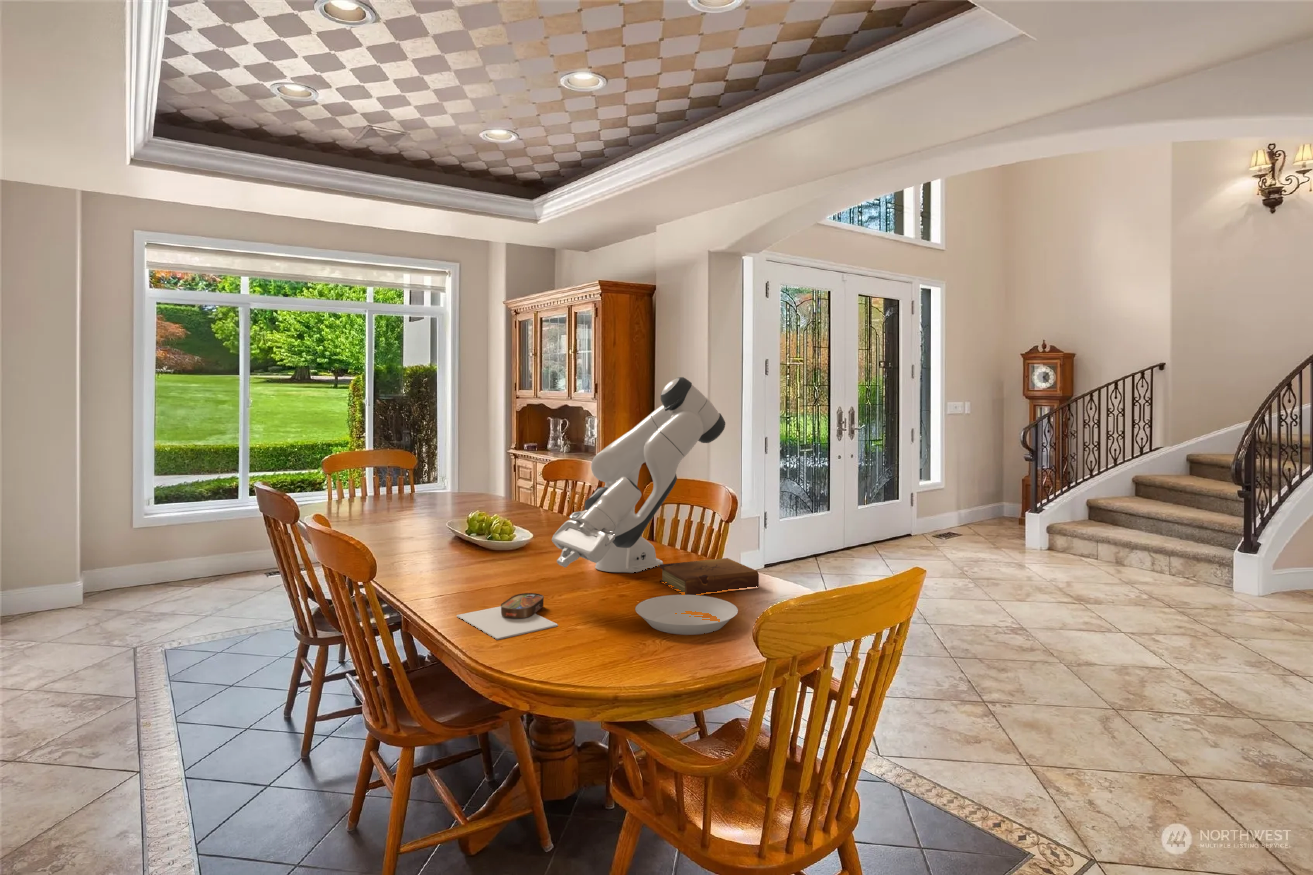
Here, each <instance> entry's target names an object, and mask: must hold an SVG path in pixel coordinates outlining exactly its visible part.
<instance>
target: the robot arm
mask: <svg viewBox="0 0 1313 875" xmlns="http://www.w3.org/2000/svg"><path fill="white" fill-rule="evenodd" d="M660 402H661V403H662V405H660V406H659V407H657V408H656V409H654V410H653V411H652V412H651V413H650V414H648V415H647V416H646V417H645V418H643V419H642V420H641V421H640V422H639V423H637V424H636V425H635V426H634V427H632V428H631V429H629V431H627V432H625V433H624V434H623V435H621V436H620V437H618V438H616V439H615V440H614V441H612V442H611V443H609V444H608V445H607V446H605V447H604V448H603V449H602V450H600V451H599V452H597V453H596V455H594V457H593V458H592V460H591V472H592V474H593V476H594V477H595V479H597V480H598V481H600V482H603V483H604V486H603V487H602V486H601V487H599V486H598V487H597V488H596V489H595V490H594V491H593V493H592V494H591V495H590V497H588V498H587V499H586V500H584V510H582V511H574V512H572V513H571V514H570V515H569V517H568V518H569V519H568V520H566V521H564V522H563V524H561V526H560V527H559V528H558V529H557V530H556V532H555V533H553V535H552V536H551V537H552V538H551V541H552V543H553V544H554V545H555V546H556V548H557V549H559V550H561V553H560V556H559V557H558V558H557V559H556V563H557V564H558V565H559V566H561V567H563V568H567V567H568V566H569V565H570V564H572V563H573V562H575V561H577V560H578V559H579V558H582V559H585V560H587V561H590V562H592V563H594V564H595V565H594V568H595V569H597V570H598V571H603V572H606V573H607V572H609V573H627V574H628V573H629V574H633V573H634V572H636V573H639V572H643V571H646V570H648V569H647V568H650V569H652V568H653V567H654V568H656V567H655V566H657V567H659V566H658V565H660V564H664V562H663V560H661V559H659V558H657V554H656V548H655V547H654V545H653V544H652V543H651V542H649V541H648V540H647V539H646V538H644V537H643V536H642V535H643V534H644V531H645V530H646V529H647V527H648V525H649V524H650V522H651V520H652V519H653V518H654V516H655V515H656V514H657V513H658V511H659V509H660V508H661V507H662V505H663V504H664V502H665V500H666V499H667V497H668V496H669V494H670V493H671V491H672V490H673V488H674V487H675V485H676V483H677V481H678V476H677V469H678V467H679V465H680V464H681V462H682V460H683V459H684V458H685V457H686V456H687V455H688V454H689V453H690V451H692V449H694V447H695V445H696V444H697V443H698V442H700V443H701V444H709V443H712V442H713V441H715V440H716V439H718V438H719V437H720V436H721V435H722V433H723V432H724V430H725V427H726V420H725V419H724V417H723V415H722V413H720V412H718V410H717V408H716V407H715V406H714V405H713V403H712V402H711V401H710V400H709V399H708V397H706V396H705V395H704V394H703V393H702V392H701V391H700V390H699V389H698V388H697V387H695V386H694V385H693V384H692V382H691V381H690V380H688V379H687V378H686V377H684V376H681V377H676V378H675V379H672V380H670V381H669V382H667V384H665V386H664V387H663V389H662V390H661V393H660ZM643 464H646V467H647V469H648V471H649V473H650V475H651V479H652V484H653V487H652V491H651V493H650V494H649V496H648V497H647V499H646V500H645V501H644V503H643V505H642V506H641V507H640V509H639V510H638V511H637V513H636V512H635V511H636V510H635V509H636V505H637V504H638V502H639V501H640V499H641V497H642V491H641V489H640V488H639V487H638V482H639V475H640V470H641V468H642V465H643ZM654 568H653V569H654ZM645 569H646V570H645ZM642 570H643V571H642ZM634 574H635V573H634Z"/></svg>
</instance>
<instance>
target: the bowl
mask: <svg viewBox="0 0 1313 875" xmlns="http://www.w3.org/2000/svg"><path fill="white" fill-rule="evenodd" d="M634 609H635V612H636V613H637V614H638V616H640V617H641V618H642V619H644V621H646V622H647V624H648V625H649V626H651V628H653V629H655V630H657V631H660V632H662V633H665V634H666V633H667V634H672V635H684V636H690V635H691V636H692V635H693V636H694V635H704V633H705V634H711V633H713V631H714V632H716V631H719V630H720V629H722V628H723V627H724V626H725V625H726V624H727V623H728V622H730V620H731V619H733V618H734V617H736V615H738V612H739V608H738V607H737V606H736V605H735V604H734V603H732V602H730V601H727V600H725V599H722V598H719V597H718V598H717V597H713V596H709V595H701V596H700V595H681V594H670V595H669V594H668V595H661V596H656V597H651V598H648V599H645V600H642V601H641V602H639V603H637V604H636V605H635V608H634ZM685 611H692V612H695V611H696V612H702V613H709V614H711V615H712V616H716V617H717V619H720V622H718V621H710V620H702V619H710V618H702V617H694V616H703V615H691V614H681V613H686V612H685ZM675 613H677V614H675ZM689 616H691V617H689Z"/></svg>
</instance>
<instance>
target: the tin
mask: <svg viewBox="0 0 1313 875" xmlns="http://www.w3.org/2000/svg"><path fill="white" fill-rule="evenodd" d="M544 598H545V597H544V595H543V594H540V593H535V592H524V593H518V594H514V595H512V596H511V597H509V598H507V599H506V600H505V601H504V602H502V603H501V604H500V606H501V615H502V616H503V617H510V618H526V617H530V616H532V615H533V614H537V612H538V611H539V610H541V609H542V608H543V607H544Z"/></svg>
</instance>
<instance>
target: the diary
mask: <svg viewBox="0 0 1313 875" xmlns="http://www.w3.org/2000/svg"><path fill="white" fill-rule="evenodd" d="M658 567H659V568H660V569H661V570H662V579H659V580H660V581H661V582H664V583H665V582H667V583H665V584H666V585H672V586H674V587H672V588H673V589H679V590H681V591H678V592H685V595H696V594H701V593H706V592H717V591H722V590H728V589H739V588H747V587H756V586H757V587H758V586H759V581H760V578H759V577H760V574H759V572H758V570H756V569H754V568H751V567H749V566H748V565H747V566H746V565H745V564H742V563H740V562H737V561H735V560H734V559H731V558H728V557H726V558H725V557H724V558H714V559H705V560H704V559H703V560H693V561H683V562H673V563H672V562H671V563H663V564H660V565H659V566H658ZM661 582H660V583H661ZM666 585H665V586H666ZM670 587H671V586H670ZM673 589H672V590H673ZM678 592H677V593H678Z"/></svg>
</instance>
